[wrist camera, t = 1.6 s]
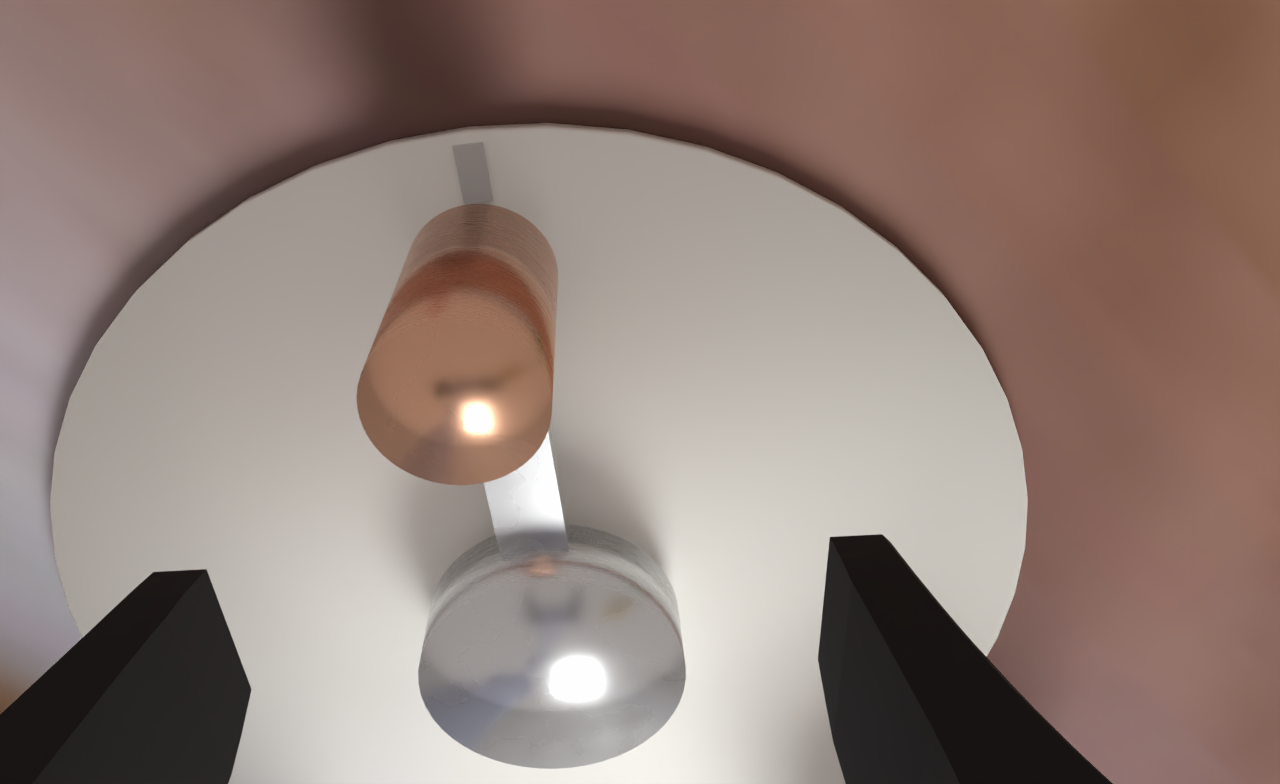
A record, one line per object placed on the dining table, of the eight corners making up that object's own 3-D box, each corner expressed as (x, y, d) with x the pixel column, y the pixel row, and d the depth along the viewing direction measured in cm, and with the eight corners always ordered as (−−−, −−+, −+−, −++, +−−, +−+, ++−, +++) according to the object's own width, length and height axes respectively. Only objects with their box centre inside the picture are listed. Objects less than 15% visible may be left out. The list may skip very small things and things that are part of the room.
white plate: (241, 904, 32) (231, 933, 32) (-143, 195, 20) (-175, 212, 19) (978, 823, 32) (989, 850, 31) (1082, 56, 19) (1105, 67, 19)
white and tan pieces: (687, 693, 26) (710, 883, 22) (456, 718, 26) (429, 914, 22) (633, 177, 19) (650, 296, 14) (309, 213, 19) (220, 345, 14)
